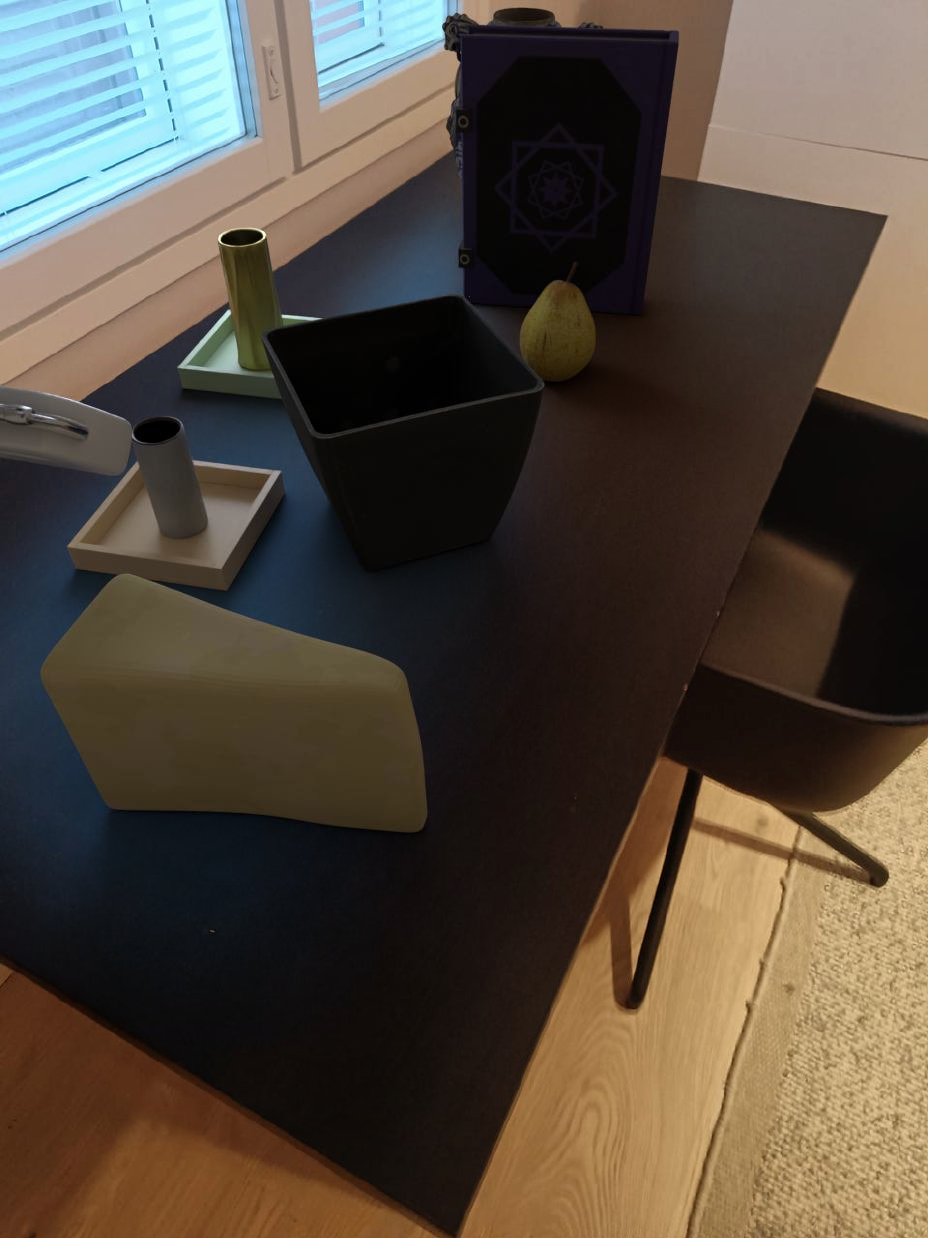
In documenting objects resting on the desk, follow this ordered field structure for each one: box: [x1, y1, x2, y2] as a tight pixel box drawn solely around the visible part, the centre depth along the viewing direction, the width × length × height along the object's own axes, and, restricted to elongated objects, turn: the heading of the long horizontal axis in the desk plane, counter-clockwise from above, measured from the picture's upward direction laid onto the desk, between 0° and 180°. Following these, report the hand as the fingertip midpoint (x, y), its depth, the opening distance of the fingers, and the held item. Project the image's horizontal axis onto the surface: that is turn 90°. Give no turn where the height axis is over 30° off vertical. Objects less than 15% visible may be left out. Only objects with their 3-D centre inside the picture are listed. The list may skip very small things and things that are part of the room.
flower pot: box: [261, 293, 545, 571], centre depth 79 cm, size 19×19×17 cm
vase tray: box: [176, 309, 323, 400], centre depth 106 cm, size 15×15×3 cm
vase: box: [217, 227, 284, 370], centre depth 101 cm, size 6×6×14 cm
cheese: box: [39, 574, 428, 833], centre depth 58 cm, size 22×10×15 cm, turn 74°
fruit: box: [519, 262, 597, 383], centre depth 100 cm, size 9×9×12 cm
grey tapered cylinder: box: [131, 415, 208, 539], centre depth 80 cm, size 4×4×10 cm
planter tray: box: [66, 459, 286, 592], centre depth 83 cm, size 15×15×3 cm
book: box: [456, 24, 680, 316], centre depth 107 cm, size 24×6×30 cm, turn 80°
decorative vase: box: [441, 7, 604, 184], centre depth 122 cm, size 21×19×28 cm
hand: (47, 445), depth 64 cm, fingers open, 8 cm apart
